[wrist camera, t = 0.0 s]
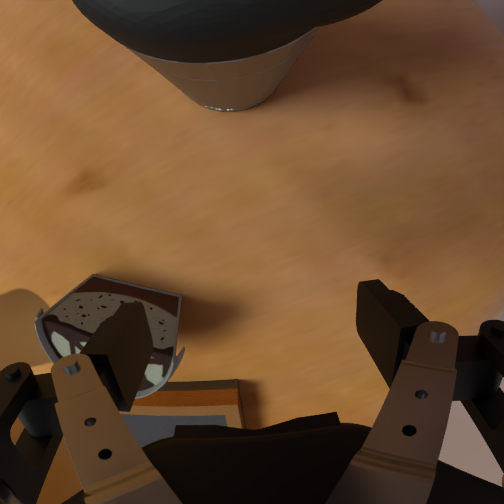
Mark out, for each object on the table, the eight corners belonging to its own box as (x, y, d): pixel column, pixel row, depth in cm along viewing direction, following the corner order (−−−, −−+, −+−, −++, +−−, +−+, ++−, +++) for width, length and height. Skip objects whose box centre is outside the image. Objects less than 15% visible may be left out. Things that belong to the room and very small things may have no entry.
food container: (80, 321, 31) (39, 378, 22) (79, 270, 29) (28, 320, 20) (188, 348, 32) (173, 419, 23) (197, 298, 30) (181, 364, 21)
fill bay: (73, 379, 34) (61, 399, 30) (237, 379, 34) (237, 404, 30) (117, 457, 40) (111, 476, 36) (251, 460, 40) (252, 482, 36)
